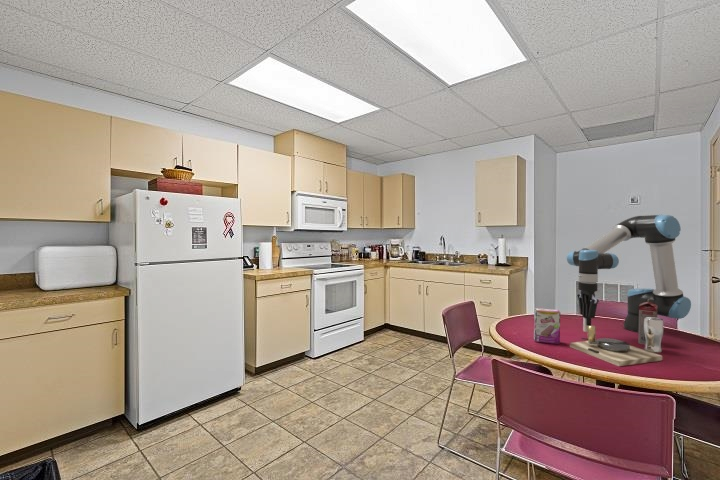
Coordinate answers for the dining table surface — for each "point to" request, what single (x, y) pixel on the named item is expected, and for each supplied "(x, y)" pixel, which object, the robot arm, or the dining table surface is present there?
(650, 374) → the dining table surface
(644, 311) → the juice carton
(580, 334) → the dining table surface
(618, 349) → the grey round handled piece
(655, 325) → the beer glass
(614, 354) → the stand
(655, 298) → the robot arm
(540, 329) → the candy bar box
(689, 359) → the dining table surface
